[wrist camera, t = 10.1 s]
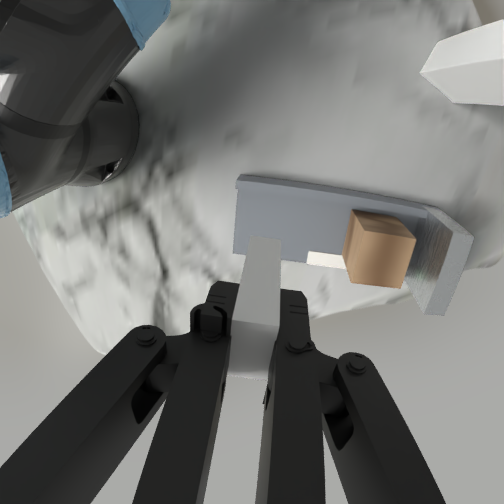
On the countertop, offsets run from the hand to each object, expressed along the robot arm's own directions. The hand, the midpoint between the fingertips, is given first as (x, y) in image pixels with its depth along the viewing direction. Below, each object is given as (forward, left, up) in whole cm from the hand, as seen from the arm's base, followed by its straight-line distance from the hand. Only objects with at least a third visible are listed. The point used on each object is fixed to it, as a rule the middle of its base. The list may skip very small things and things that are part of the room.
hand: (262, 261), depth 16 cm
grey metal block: (+20, -6, -22) cm, 30 cm away
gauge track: (+9, -6, -23) cm, 25 cm away
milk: (+20, +17, -23) cm, 35 cm away
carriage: (+13, -6, -22) cm, 26 cm away
